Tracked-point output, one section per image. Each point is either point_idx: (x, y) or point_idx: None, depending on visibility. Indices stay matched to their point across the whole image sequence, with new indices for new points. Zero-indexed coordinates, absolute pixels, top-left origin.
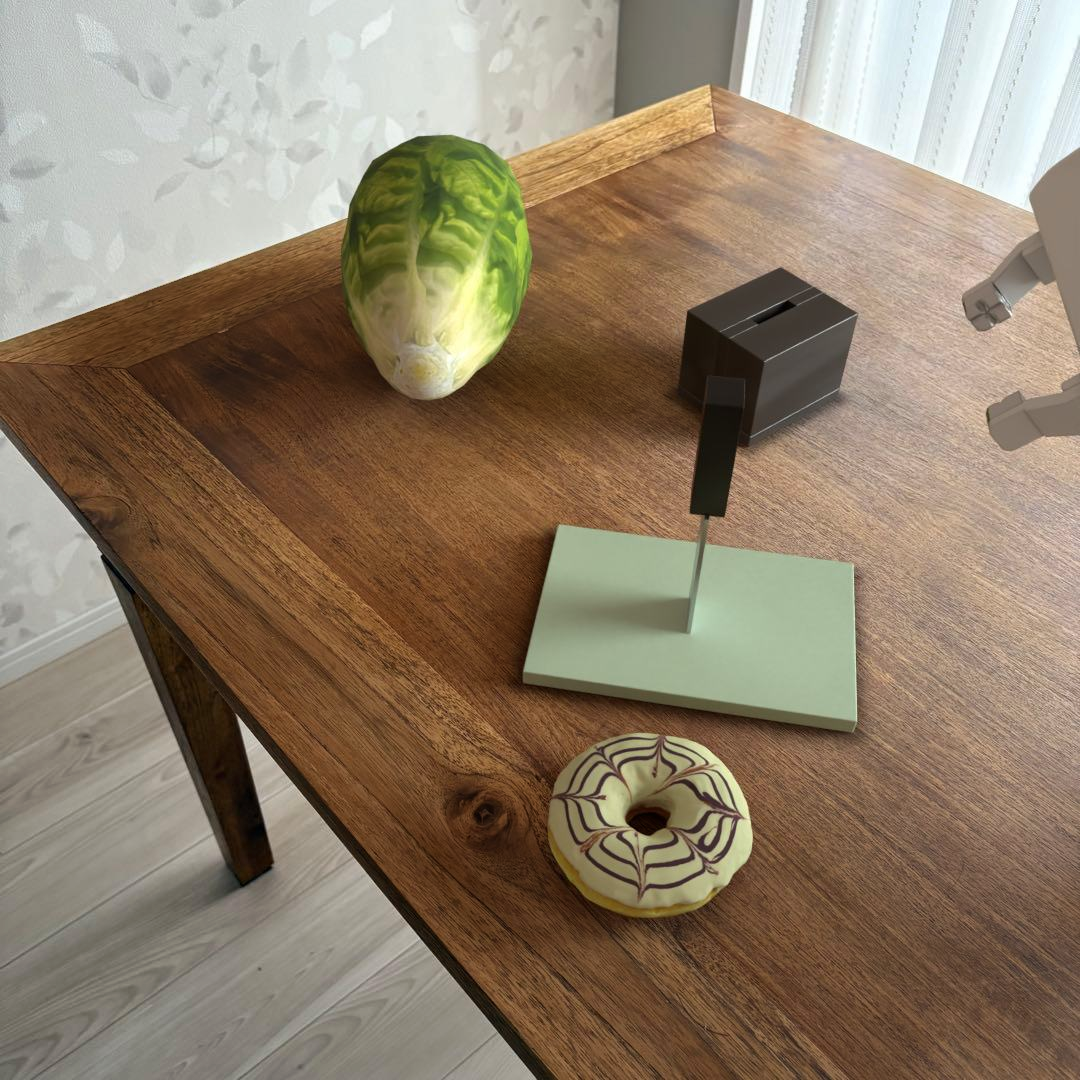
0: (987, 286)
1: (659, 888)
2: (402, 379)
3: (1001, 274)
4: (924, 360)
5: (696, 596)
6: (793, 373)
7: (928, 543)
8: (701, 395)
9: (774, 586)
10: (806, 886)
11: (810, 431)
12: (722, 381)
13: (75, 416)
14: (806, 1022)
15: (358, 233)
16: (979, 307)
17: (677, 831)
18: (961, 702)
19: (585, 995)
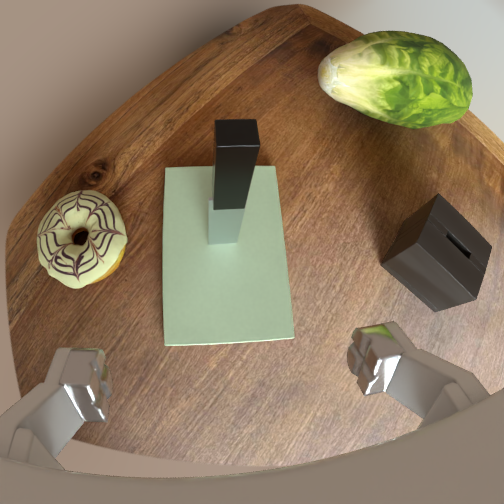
0: (397, 348)
1: (39, 242)
2: (319, 70)
3: (416, 362)
4: (472, 356)
5: (208, 232)
6: (426, 271)
7: (332, 383)
8: (403, 229)
9: (260, 290)
10: (73, 320)
11: (405, 300)
12: (250, 129)
13: (279, 17)
14: (22, 319)
15: (380, 31)
16: (365, 345)
17: (63, 246)
18: (205, 407)
19: (26, 231)
